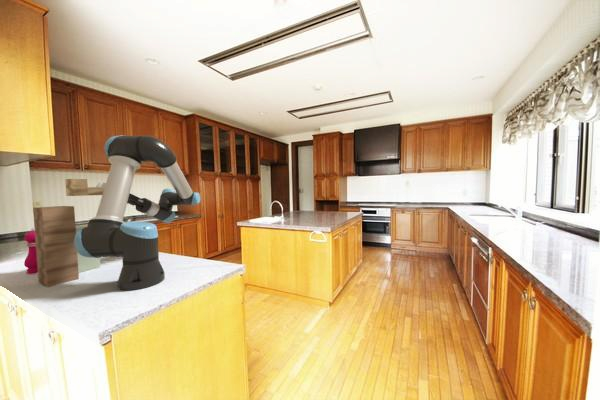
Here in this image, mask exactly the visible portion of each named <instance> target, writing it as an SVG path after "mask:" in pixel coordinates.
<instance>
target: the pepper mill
mask: <svg viewBox="0 0 600 400" xmlns="http://www.w3.org/2000/svg"><path fill="white" fill-rule="evenodd" d="M23 239H24V241H25V242H27V243H26V247H28V254H27V256H26V258H25V259H24V263H23V265H24V266H25V268H27V269H26V274H27V275H34V274H35V275H36V274H38V268H37V254H36V241H35V227H33V228H31V230H30V232H27V233H26V234H25V235H24V238H23Z"/></svg>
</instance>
